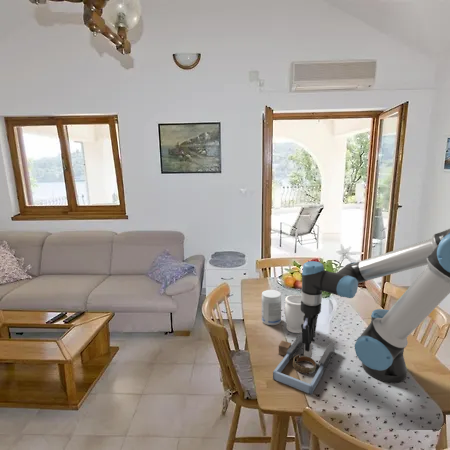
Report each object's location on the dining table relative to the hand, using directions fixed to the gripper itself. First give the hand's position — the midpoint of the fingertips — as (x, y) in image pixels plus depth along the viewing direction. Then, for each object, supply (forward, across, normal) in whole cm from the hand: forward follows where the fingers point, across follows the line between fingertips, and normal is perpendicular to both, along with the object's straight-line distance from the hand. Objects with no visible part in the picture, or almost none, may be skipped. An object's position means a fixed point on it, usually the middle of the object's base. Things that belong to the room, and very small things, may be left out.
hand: (307, 356), depth 126 cm
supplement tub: (+2, -20, -26) cm, 33 cm away
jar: (+2, -20, -13) cm, 24 cm away
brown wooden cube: (+2, 0, -10) cm, 10 cm away
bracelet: (+2, +5, 0) cm, 5 cm away
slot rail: (+2, -3, 0) cm, 4 cm away
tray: (+2, +11, 0) cm, 11 cm away
